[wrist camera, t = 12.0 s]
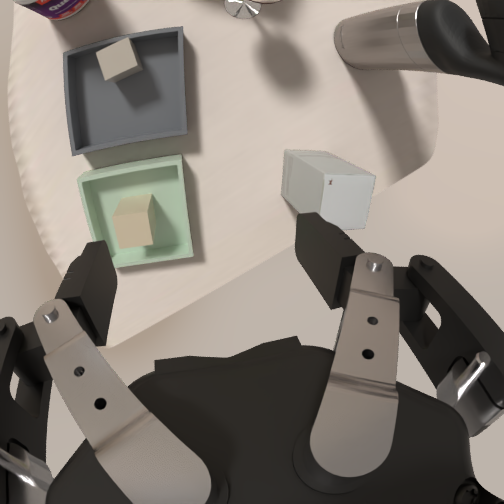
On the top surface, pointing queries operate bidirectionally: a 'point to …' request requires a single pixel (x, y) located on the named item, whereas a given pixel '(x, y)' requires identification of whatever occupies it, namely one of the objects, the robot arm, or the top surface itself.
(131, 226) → the sandstone block
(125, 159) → the top surface
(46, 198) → the top surface
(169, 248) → the pale green bin
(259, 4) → the wineglass
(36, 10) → the pill bottle
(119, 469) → the robot arm
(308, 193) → the supplement box
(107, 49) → the small pebble block
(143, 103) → the dark grey bin
